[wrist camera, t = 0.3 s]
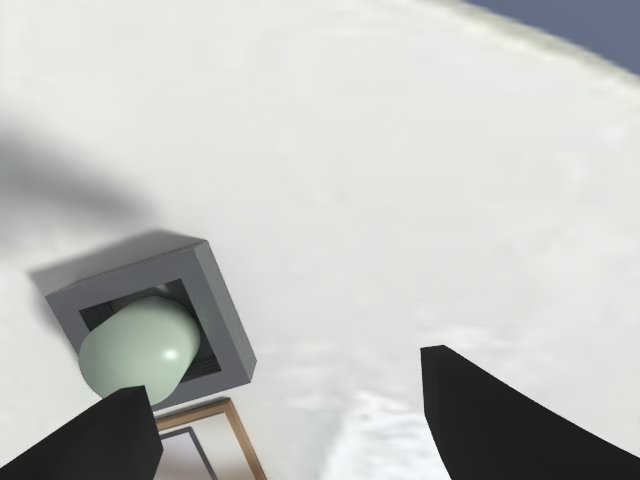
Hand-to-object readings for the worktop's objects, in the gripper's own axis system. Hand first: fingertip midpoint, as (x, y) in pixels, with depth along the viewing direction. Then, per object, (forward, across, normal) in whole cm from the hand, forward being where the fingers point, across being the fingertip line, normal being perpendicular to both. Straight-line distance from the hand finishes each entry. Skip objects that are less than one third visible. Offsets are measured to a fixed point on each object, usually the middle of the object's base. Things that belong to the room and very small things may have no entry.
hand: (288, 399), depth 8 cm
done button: (+9, +8, +2) cm, 12 cm away
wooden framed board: (+10, +10, +13) cm, 19 cm away
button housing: (+10, +8, +2) cm, 13 cm away
